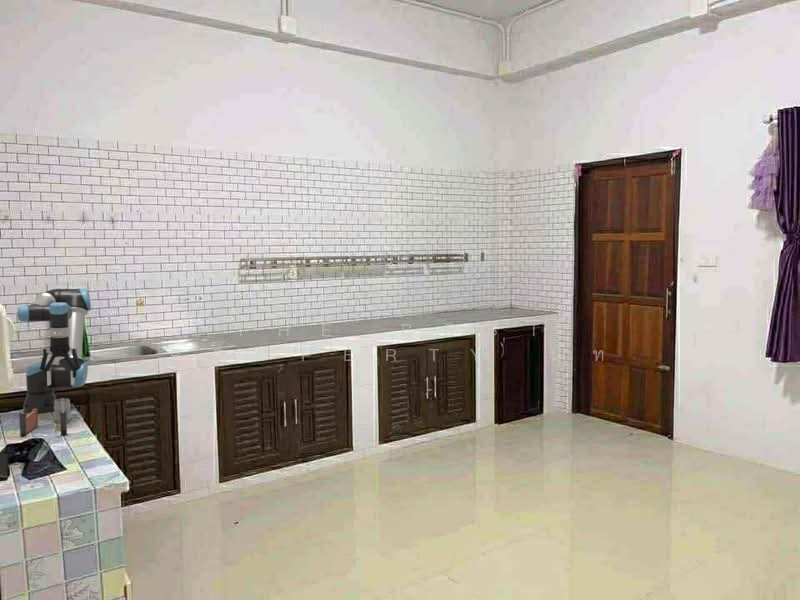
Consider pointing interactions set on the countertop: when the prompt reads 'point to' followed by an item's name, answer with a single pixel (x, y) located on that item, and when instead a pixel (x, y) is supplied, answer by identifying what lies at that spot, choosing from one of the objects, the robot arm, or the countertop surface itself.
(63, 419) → the latch post
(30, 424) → the gate
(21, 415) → the hinge post
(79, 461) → the countertop surface
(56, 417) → the mug
